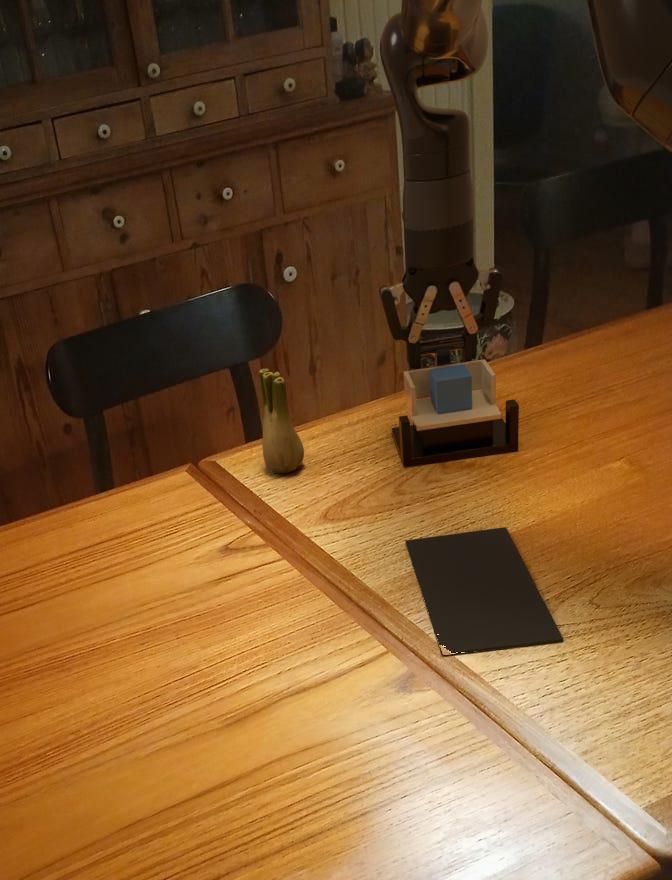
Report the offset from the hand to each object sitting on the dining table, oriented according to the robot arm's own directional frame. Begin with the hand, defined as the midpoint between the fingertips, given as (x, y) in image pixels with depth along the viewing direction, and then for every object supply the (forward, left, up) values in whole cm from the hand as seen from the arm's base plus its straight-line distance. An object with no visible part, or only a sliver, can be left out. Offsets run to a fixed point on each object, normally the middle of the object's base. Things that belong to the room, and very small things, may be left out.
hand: (442, 366), depth 118 cm
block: (0, +6, -3) cm, 6 cm away
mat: (+4, +38, -7) cm, 39 cm away
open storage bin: (0, +5, -3) cm, 6 cm away
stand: (0, +6, -7) cm, 10 cm away
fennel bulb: (+20, +6, -8) cm, 22 cm away
